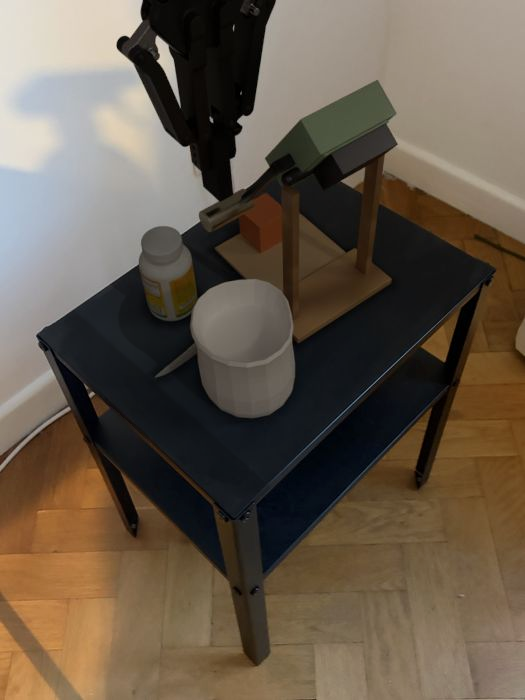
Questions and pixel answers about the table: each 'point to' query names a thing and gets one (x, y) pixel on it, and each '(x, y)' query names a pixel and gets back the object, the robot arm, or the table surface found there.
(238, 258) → the mat
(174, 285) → the supplement bottle
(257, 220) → the block
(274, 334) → the cup
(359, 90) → the tilting tray
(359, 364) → the table surface
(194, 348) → the pocket knife
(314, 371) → the table surface
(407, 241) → the table surface
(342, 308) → the scoop stand
